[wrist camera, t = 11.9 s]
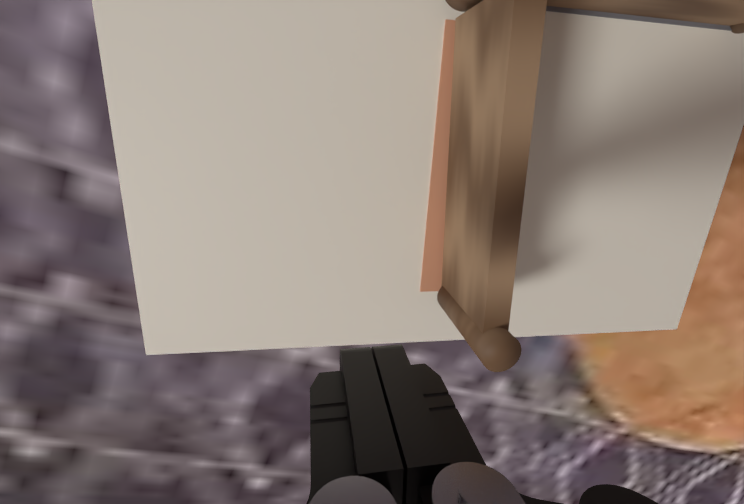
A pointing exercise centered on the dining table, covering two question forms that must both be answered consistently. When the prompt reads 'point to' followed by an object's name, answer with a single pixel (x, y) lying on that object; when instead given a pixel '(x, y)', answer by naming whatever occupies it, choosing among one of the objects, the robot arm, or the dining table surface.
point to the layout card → (401, 168)
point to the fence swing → (489, 170)
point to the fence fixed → (652, 9)
